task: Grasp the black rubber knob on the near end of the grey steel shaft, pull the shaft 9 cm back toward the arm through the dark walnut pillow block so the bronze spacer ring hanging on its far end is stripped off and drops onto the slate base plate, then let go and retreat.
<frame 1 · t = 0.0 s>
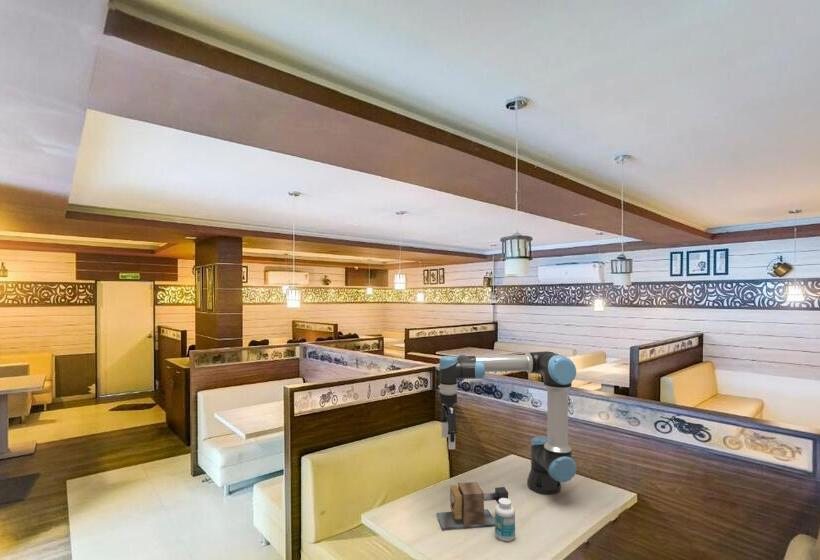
hand: (448, 442, 179), 28 cm above the table, fingers open, 13 cm apart
shaft: (479, 497, 170), point 9 cm above the table, slide at 0.0 cm, touching spacer
pill bottle: (505, 537, 159), on the table
spacer: (455, 512, 169), point 3 cm above the table, touching shaft
bearing block: (470, 520, 170), on the table
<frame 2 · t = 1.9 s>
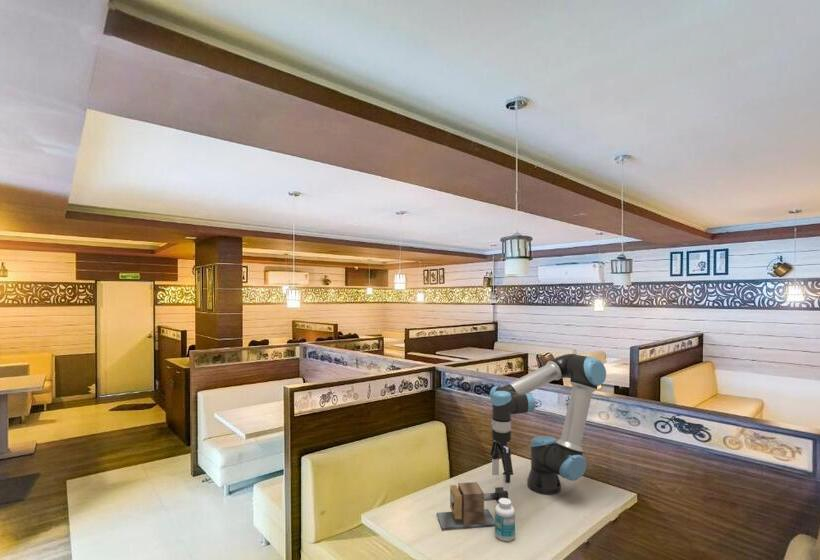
hand: (500, 482, 171), 15 cm above the table, fingers open, 13 cm apart
nothing on the table moved.
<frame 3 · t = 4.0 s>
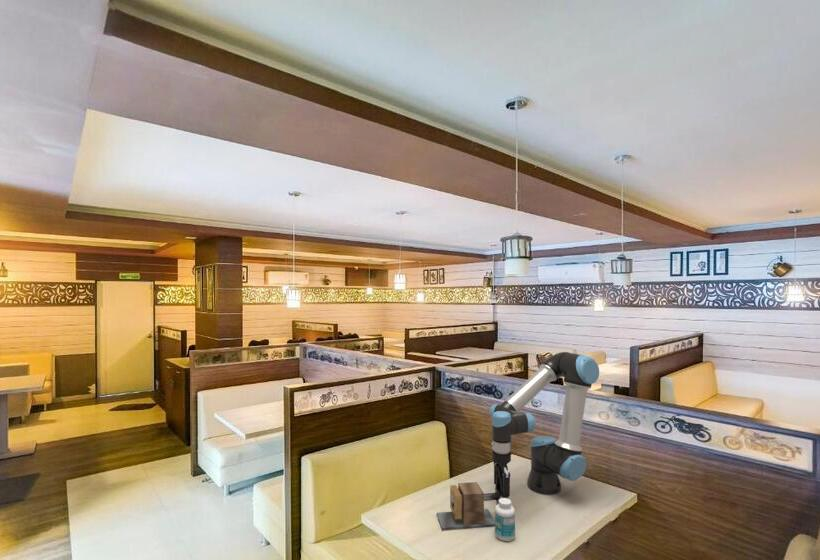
hand: (501, 507, 171), 4 cm above the table, fingers closed on shaft, 4 cm apart
shaft: (479, 497, 170), point 9 cm above the table, slide at 0.0 cm, touching gripper, spacer
everything else where it was.
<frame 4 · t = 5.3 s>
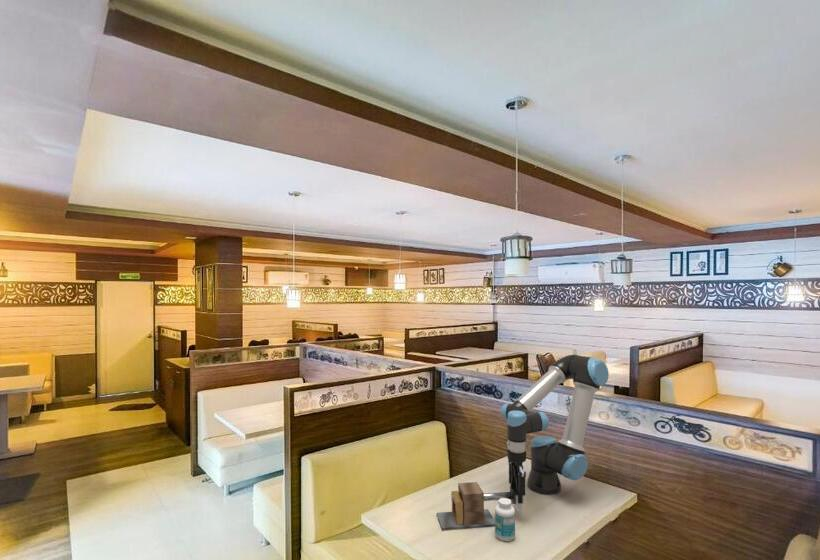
hand: (516, 506, 172), 4 cm above the table, fingers closed on shaft, 4 cm apart
shaft: (494, 496, 171), point 9 cm above the table, slide at 6.4 cm, touching gripper
spacer: (457, 518, 169), point 1 cm above the table, touching bearing block
everything else where it was.
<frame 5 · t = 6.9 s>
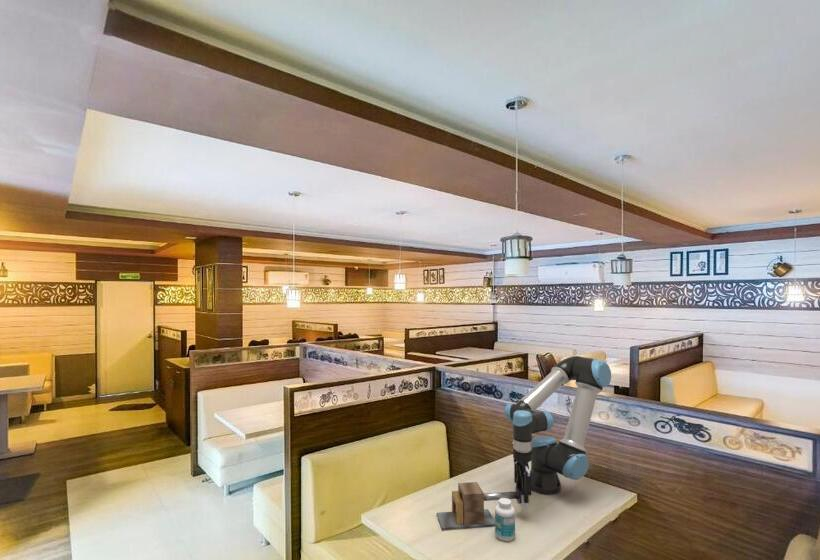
hand: (522, 506, 172), 4 cm above the table, fingers closed on shaft, 4 cm apart
shaft: (500, 496, 171), point 9 cm above the table, slide at 8.8 cm, touching gripper
everything else where it was.
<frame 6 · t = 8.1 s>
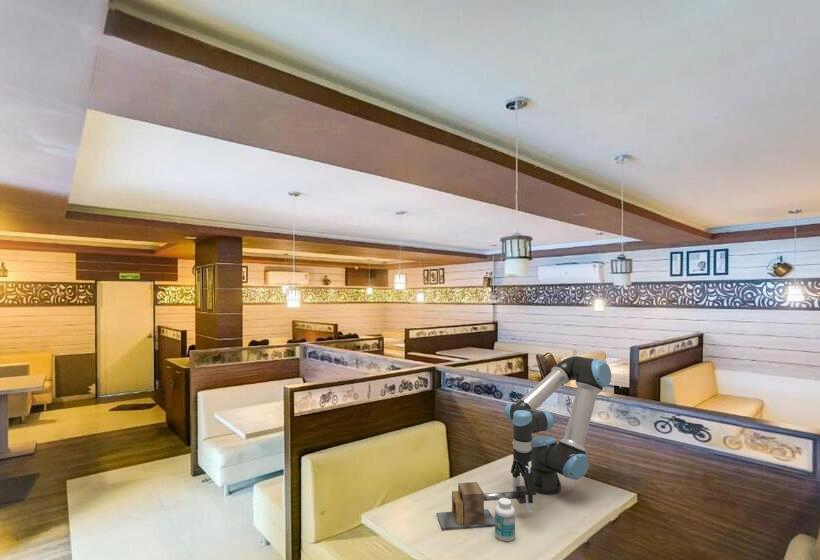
hand: (522, 501, 173), 6 cm above the table, fingers open, 13 cm apart
shaft: (500, 496, 171), point 9 cm above the table, slide at 8.8 cm
everything else where it was.
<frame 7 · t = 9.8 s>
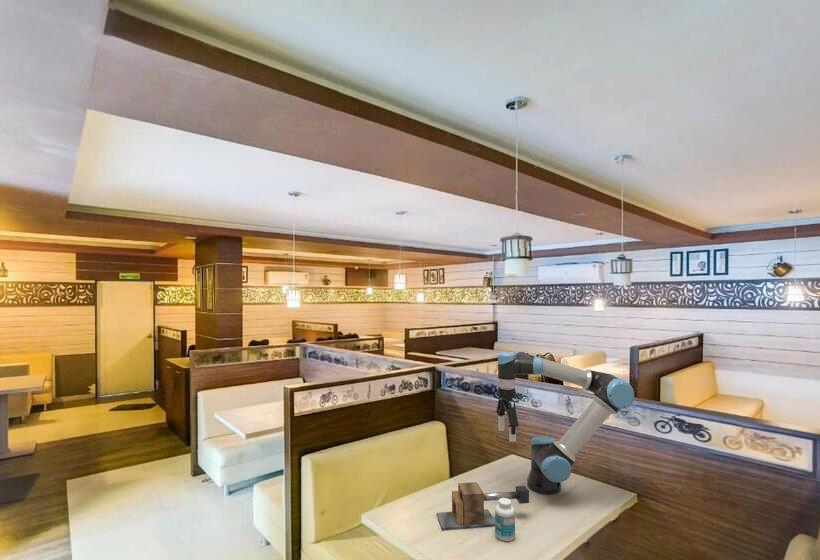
hand: (506, 435, 185), 29 cm above the table, fingers open, 13 cm apart
nothing on the table moved.
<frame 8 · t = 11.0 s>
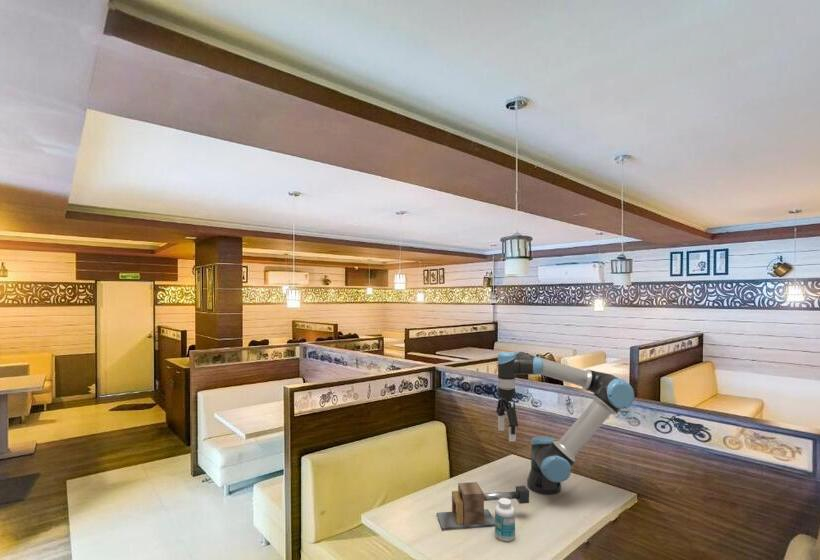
hand: (506, 435, 185), 29 cm above the table, fingers open, 13 cm apart
nothing on the table moved.
at the end: spacer point 1.0 cm above the table; spacer touching bearing block; shaft slide at 8.8 cm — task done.
